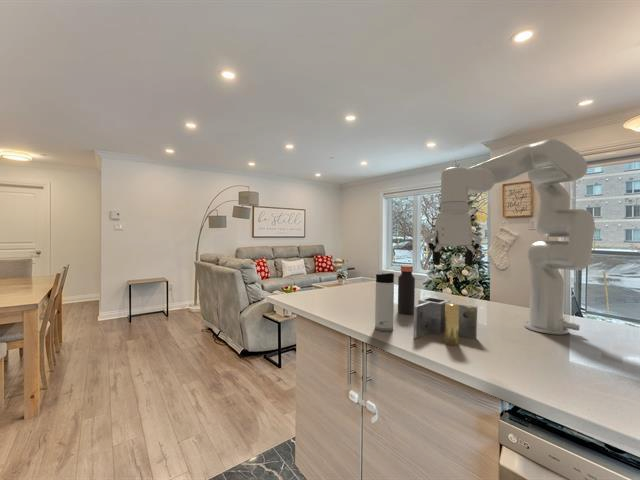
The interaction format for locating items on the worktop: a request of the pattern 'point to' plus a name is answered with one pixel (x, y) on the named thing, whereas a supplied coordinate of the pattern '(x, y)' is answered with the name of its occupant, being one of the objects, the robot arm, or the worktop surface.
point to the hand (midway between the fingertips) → (452, 265)
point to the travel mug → (384, 302)
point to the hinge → (442, 318)
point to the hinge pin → (451, 324)
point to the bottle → (406, 290)
